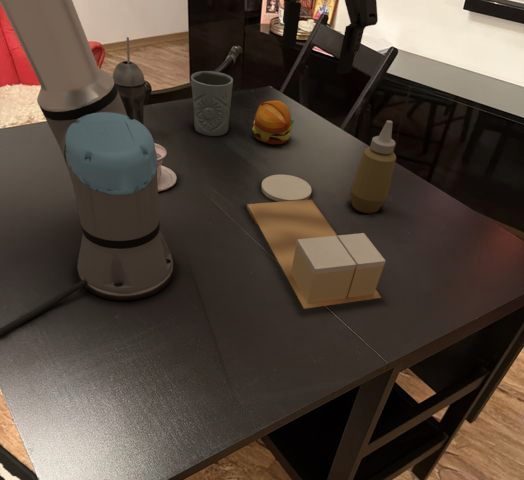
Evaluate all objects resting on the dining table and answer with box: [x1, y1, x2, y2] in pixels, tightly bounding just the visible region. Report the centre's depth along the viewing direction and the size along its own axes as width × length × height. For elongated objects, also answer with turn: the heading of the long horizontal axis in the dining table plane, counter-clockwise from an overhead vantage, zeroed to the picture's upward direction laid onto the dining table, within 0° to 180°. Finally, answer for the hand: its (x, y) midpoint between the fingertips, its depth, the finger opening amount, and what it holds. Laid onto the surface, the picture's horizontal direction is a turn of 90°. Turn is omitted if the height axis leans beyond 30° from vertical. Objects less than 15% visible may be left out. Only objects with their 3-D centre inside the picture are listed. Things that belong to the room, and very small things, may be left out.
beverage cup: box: [112, 36, 146, 125], centre depth 109 cm, size 7×7×20 cm
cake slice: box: [337, 232, 386, 298], centre depth 81 cm, size 8×5×7 cm, turn 18°
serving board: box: [246, 199, 383, 309], centre depth 89 cm, size 32×14×1 cm, turn 18°
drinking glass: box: [190, 70, 234, 137], centre depth 118 cm, size 10×10×12 cm
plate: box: [260, 174, 313, 202], centre depth 104 cm, size 11×11×1 cm
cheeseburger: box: [251, 99, 295, 145], centre depth 119 cm, size 10×11×10 cm
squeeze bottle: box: [349, 119, 397, 214], centre depth 97 cm, size 8×8×18 cm
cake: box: [291, 236, 356, 303], centre depth 79 cm, size 8×7×7 cm
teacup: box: [154, 142, 178, 193], centre depth 100 cm, size 12×12×6 cm
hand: (314, 59), depth 81 cm, fingers open, 13 cm apart
